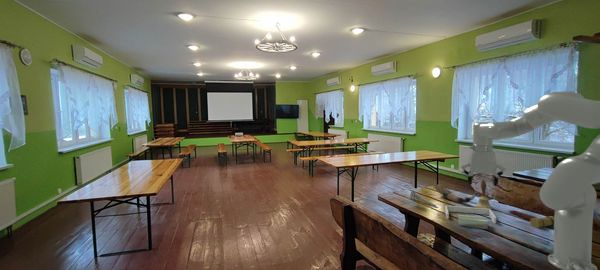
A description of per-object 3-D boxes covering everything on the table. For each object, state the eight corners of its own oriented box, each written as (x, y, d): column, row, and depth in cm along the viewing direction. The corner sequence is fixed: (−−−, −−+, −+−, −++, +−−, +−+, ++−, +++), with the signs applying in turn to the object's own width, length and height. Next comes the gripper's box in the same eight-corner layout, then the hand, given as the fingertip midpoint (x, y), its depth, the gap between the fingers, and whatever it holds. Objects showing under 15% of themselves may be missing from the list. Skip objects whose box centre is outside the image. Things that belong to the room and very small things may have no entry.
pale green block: (487, 229, 129) (487, 221, 129) (458, 225, 135) (458, 218, 135) (486, 225, 134) (486, 217, 133) (458, 222, 140) (458, 214, 139)
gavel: (500, 207, 147) (516, 206, 149) (500, 216, 147) (517, 214, 149) (539, 219, 127) (557, 217, 128) (539, 229, 127) (558, 227, 128)
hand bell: (476, 209, 155) (476, 181, 154) (474, 204, 162) (474, 178, 161) (494, 210, 151) (494, 182, 150) (490, 205, 159) (490, 178, 158)
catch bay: (496, 223, 135) (496, 217, 134) (447, 218, 143) (446, 213, 143) (490, 214, 146) (490, 208, 146) (445, 210, 155) (444, 205, 155)
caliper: (410, 199, 178) (410, 189, 178) (411, 198, 179) (411, 189, 178) (436, 208, 160) (436, 198, 159) (438, 208, 160) (438, 197, 160)
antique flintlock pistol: (439, 194, 184) (439, 179, 183) (481, 208, 156) (481, 191, 155) (433, 195, 182) (433, 181, 181) (474, 209, 154) (474, 192, 153)
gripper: (461, 149, 127) (462, 185, 128) (507, 150, 119) (507, 188, 121) (460, 147, 133) (460, 181, 135) (503, 147, 126) (503, 183, 127)
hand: (482, 184), depth 128 cm, fingers open, 9 cm apart
